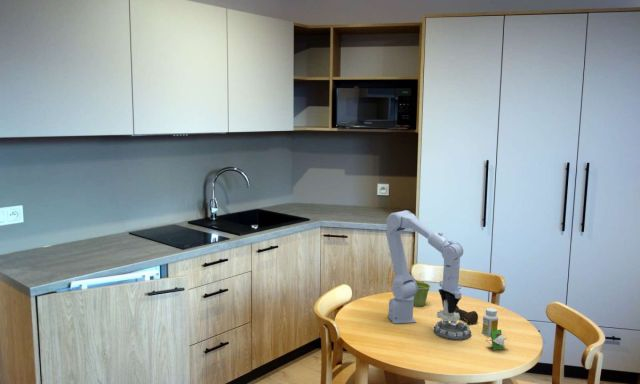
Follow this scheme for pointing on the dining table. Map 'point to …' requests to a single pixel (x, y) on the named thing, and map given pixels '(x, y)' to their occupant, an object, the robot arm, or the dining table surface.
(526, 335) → the dining table surface
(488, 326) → the supplement bottle
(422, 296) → the plant pot
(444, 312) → the planet gear
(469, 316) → the bolt
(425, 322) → the dining table surface
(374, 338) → the dining table surface
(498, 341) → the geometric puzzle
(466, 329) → the carrier
